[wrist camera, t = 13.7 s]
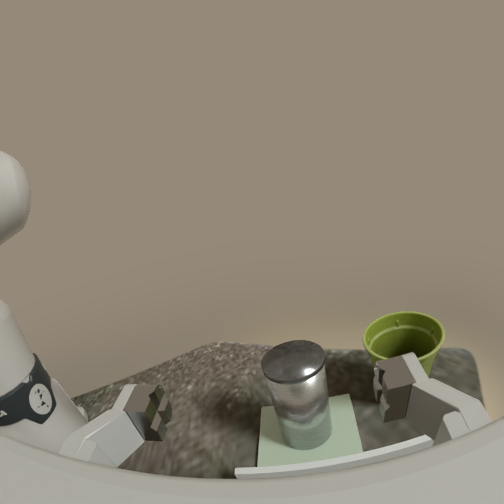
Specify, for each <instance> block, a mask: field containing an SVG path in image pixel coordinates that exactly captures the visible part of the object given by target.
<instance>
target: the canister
mask: <svg viewBox="0 0 504 504" xmlns="http://www.w3.org/2000/svg"><path fill="white" fill-rule="evenodd" d="M324 363H325V356H324V351H323V349H322V348H321V346H319V345H318V344H316V343H314V342H311V341H305V340H295V341H289V342H285V343H282V344H280V345H277V346H275V347H274V348H272V349H271V350H269V351H268V352H267V353H266V354H265V355H264V357H263V359H262V362H261V366H262V370H263V373H264V375H265V377H266V380H267V384H268V387H269V391H270V395H271V398H272V402H273V405H274V409H275V412H276V416H277V419H278V423H279V426H280V430H281V433H282V436H283V440H284V441H285V443H286V444H287V445H288V446H290V447H291V448H294V449H297V450H310V449H314V448H317V447H319V446H321V445H322V444H324V443H325V442H326V441H327V440H328V439H329V437H330V436H331V433H332V422H331V413H330V404H329V395H328V387H327V379H326V371H325V364H324Z"/></svg>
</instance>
